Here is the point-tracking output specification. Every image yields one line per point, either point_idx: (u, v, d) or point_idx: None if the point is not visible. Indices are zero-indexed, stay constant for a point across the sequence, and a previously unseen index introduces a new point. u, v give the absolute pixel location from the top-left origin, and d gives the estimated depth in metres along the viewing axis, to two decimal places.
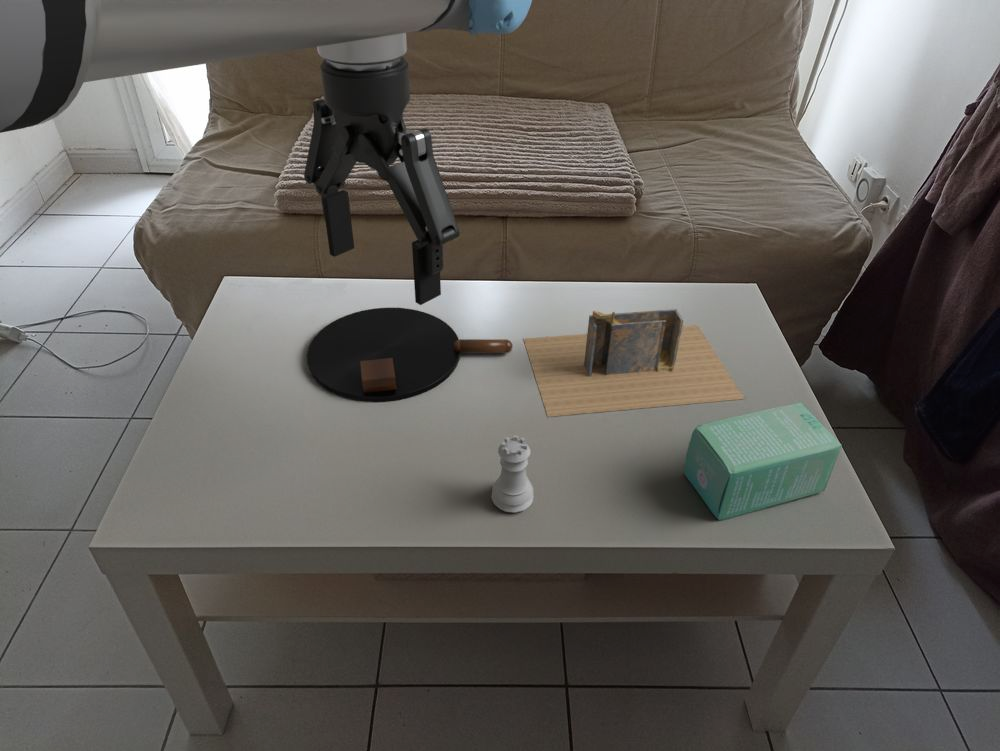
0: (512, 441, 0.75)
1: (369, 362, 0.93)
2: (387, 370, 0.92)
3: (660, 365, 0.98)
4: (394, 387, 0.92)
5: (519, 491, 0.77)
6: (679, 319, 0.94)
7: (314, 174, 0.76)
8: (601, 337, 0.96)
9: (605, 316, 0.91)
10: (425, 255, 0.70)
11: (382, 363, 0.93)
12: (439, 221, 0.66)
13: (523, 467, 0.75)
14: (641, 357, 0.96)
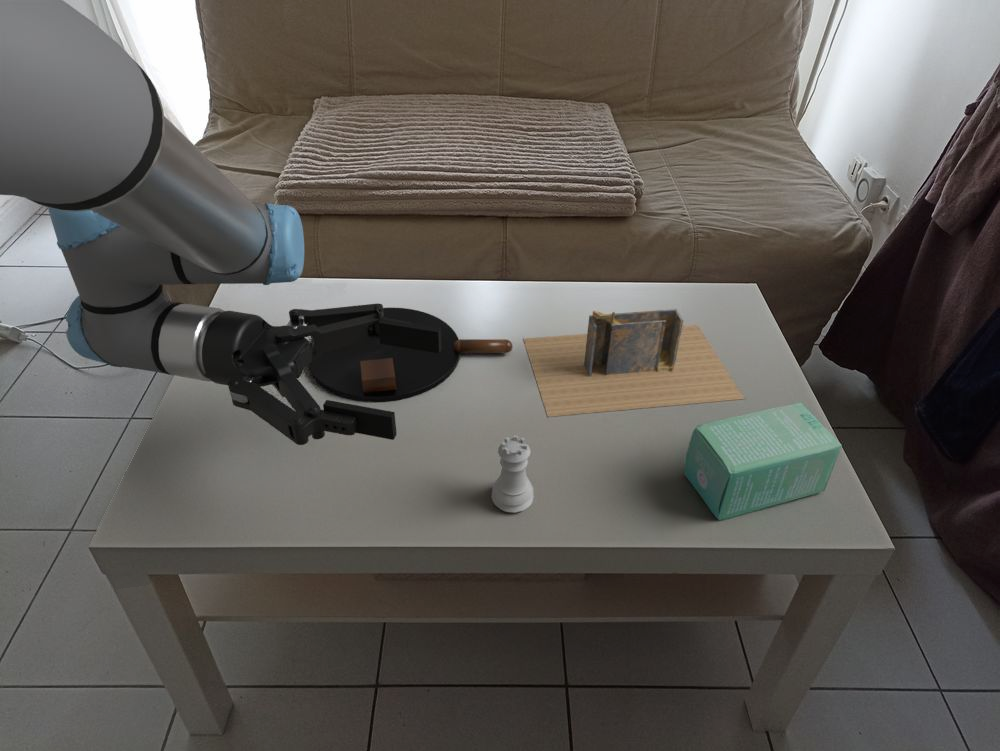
0: (512, 441, 0.75)
1: (369, 362, 0.93)
2: (387, 370, 0.92)
3: (660, 365, 0.98)
4: (394, 387, 0.92)
5: (519, 491, 0.77)
6: (679, 319, 0.94)
7: None
8: (601, 337, 0.96)
9: (605, 316, 0.91)
10: None
11: (382, 363, 0.93)
12: None
13: (523, 467, 0.75)
14: (641, 357, 0.96)
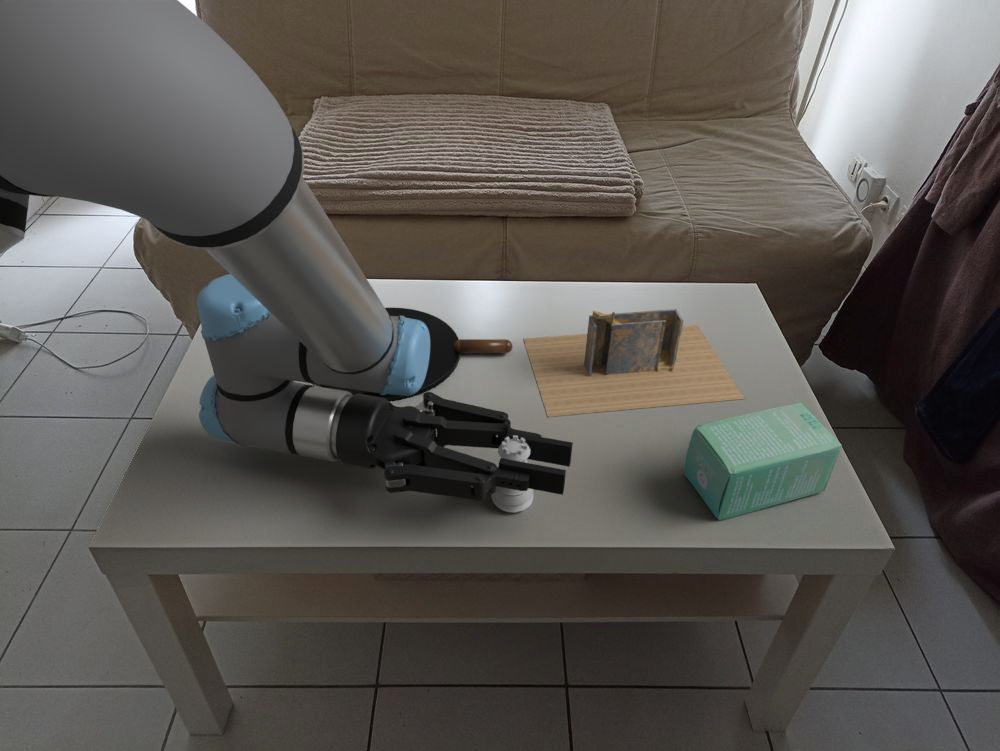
0: (512, 441, 0.75)
1: None
2: None
3: (660, 365, 0.98)
4: None
5: None
6: (679, 319, 0.94)
7: None
8: (601, 337, 0.96)
9: (605, 316, 0.91)
10: None
11: None
12: None
13: None
14: (641, 357, 0.96)
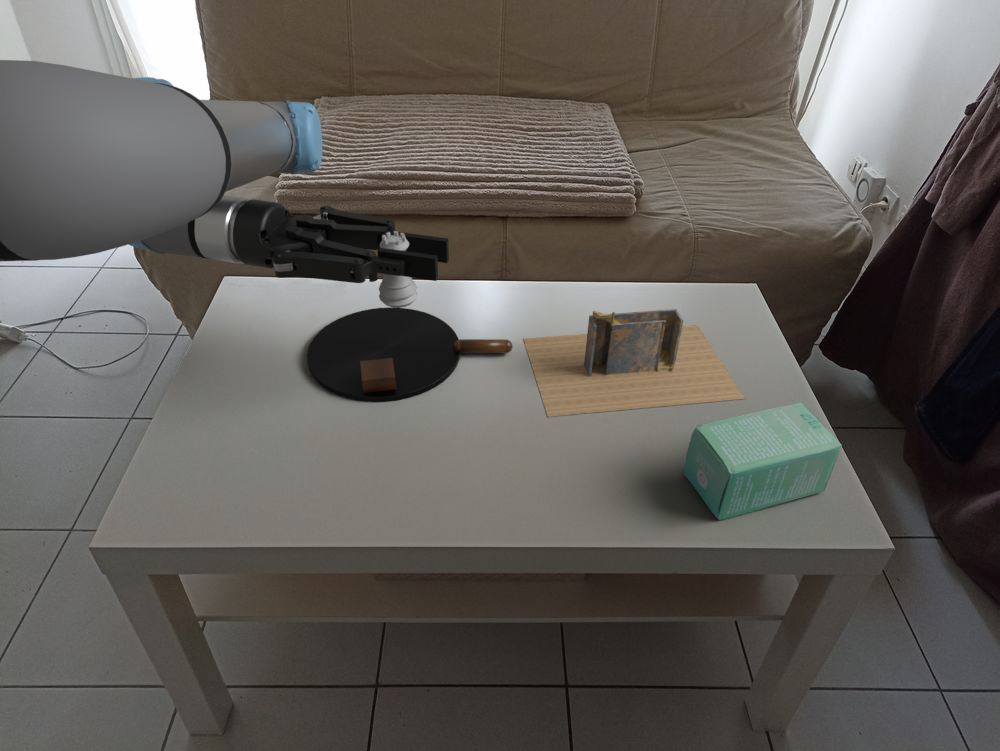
0: (392, 236, 0.83)
1: (369, 362, 0.93)
2: (387, 370, 0.92)
3: (660, 365, 0.98)
4: (394, 387, 0.92)
5: (401, 284, 0.84)
6: (679, 319, 0.94)
7: None
8: (601, 337, 0.96)
9: (605, 316, 0.91)
10: None
11: (382, 363, 0.93)
12: None
13: None
14: (641, 357, 0.96)
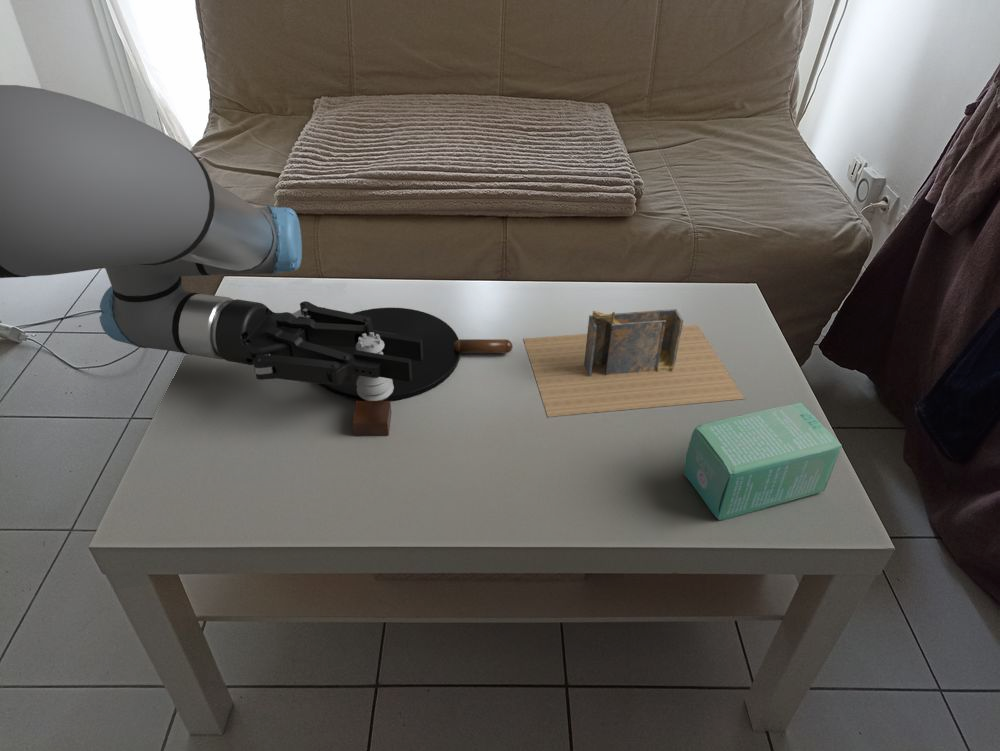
0: (368, 337, 0.86)
1: (365, 403, 0.88)
2: (381, 414, 0.87)
3: (660, 365, 0.98)
4: (386, 433, 0.87)
5: (377, 381, 0.88)
6: (679, 319, 0.94)
7: None
8: (601, 337, 0.96)
9: (605, 316, 0.91)
10: None
11: (378, 405, 0.88)
12: None
13: None
14: (641, 357, 0.96)
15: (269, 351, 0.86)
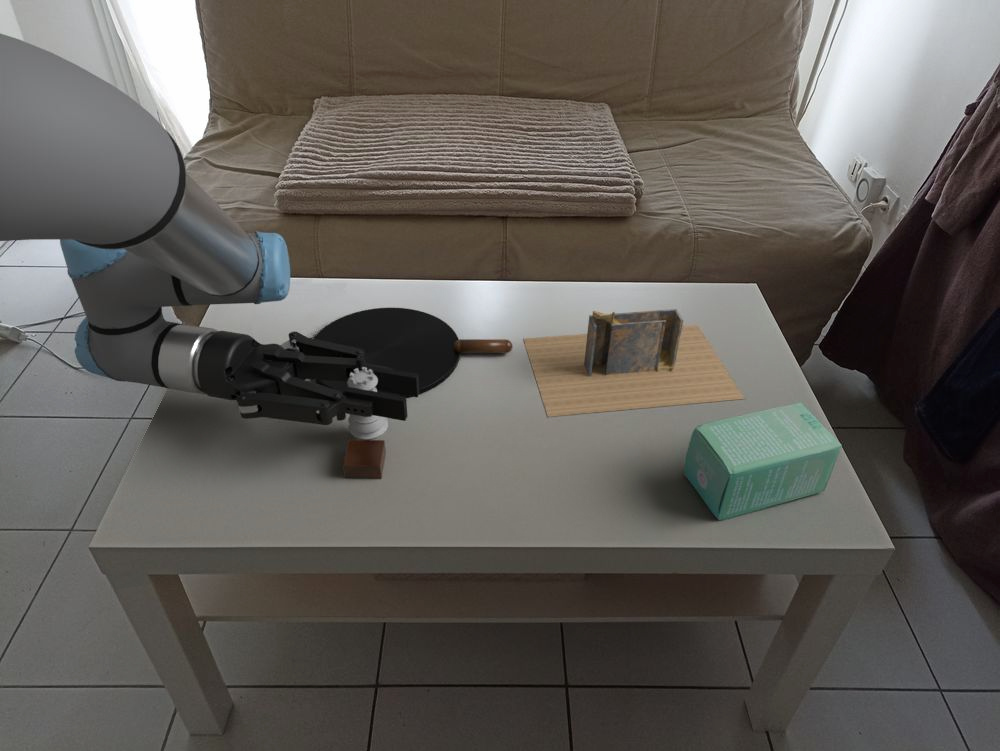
0: (361, 372, 0.81)
1: (358, 442, 0.83)
2: (374, 455, 0.81)
3: (660, 365, 0.98)
4: (379, 476, 0.81)
5: (370, 419, 0.82)
6: (679, 319, 0.94)
7: None
8: (601, 337, 0.96)
9: (605, 316, 0.91)
10: None
11: (371, 446, 0.82)
12: None
13: None
14: (641, 357, 0.96)
15: (254, 387, 0.80)
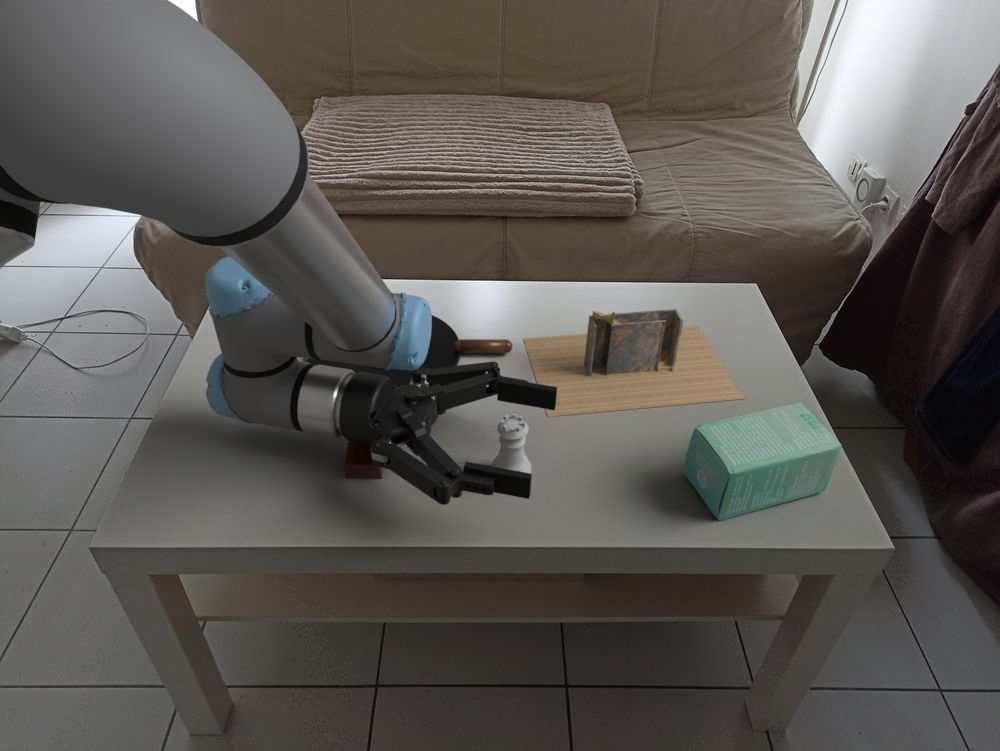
0: (511, 419, 0.78)
1: (358, 442, 0.83)
2: None
3: (660, 365, 0.98)
4: (379, 476, 0.81)
5: (517, 467, 0.79)
6: (679, 319, 0.94)
7: None
8: (601, 337, 0.96)
9: (605, 316, 0.91)
10: None
11: None
12: None
13: (521, 444, 0.78)
14: (641, 357, 0.96)
15: (401, 433, 0.77)
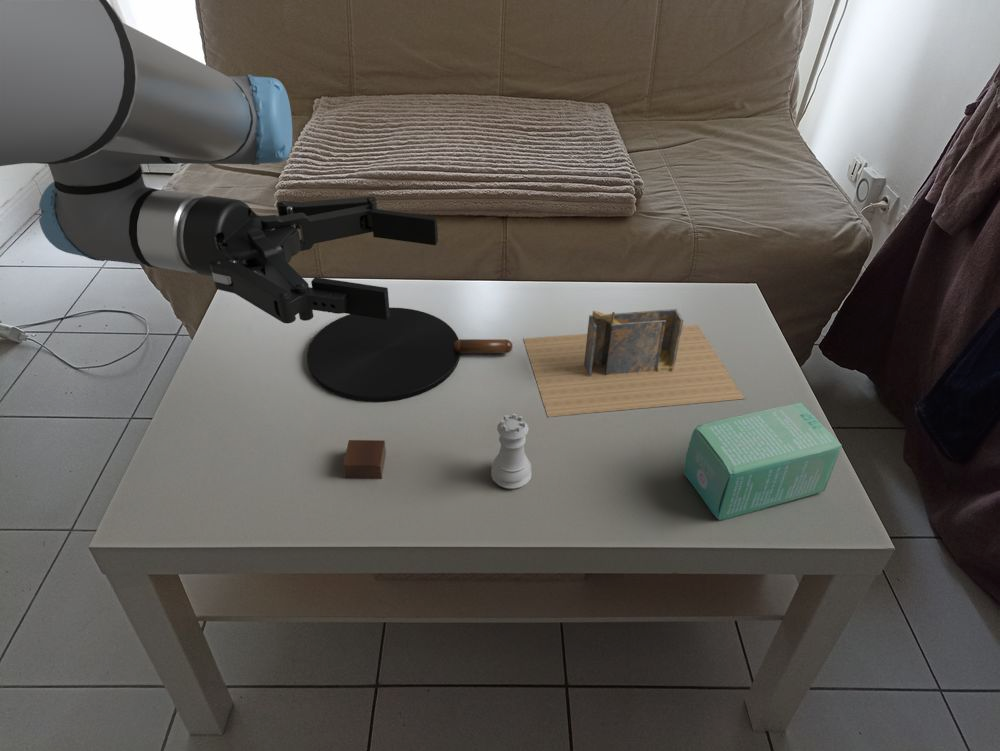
0: (511, 419, 0.78)
1: (358, 442, 0.83)
2: (374, 455, 0.81)
3: (660, 365, 0.98)
4: (379, 476, 0.81)
5: (517, 467, 0.79)
6: (679, 319, 0.94)
7: None
8: (601, 337, 0.96)
9: (605, 316, 0.91)
10: None
11: (371, 446, 0.82)
12: None
13: (521, 444, 0.78)
14: (641, 357, 0.96)
15: (251, 256, 0.68)
